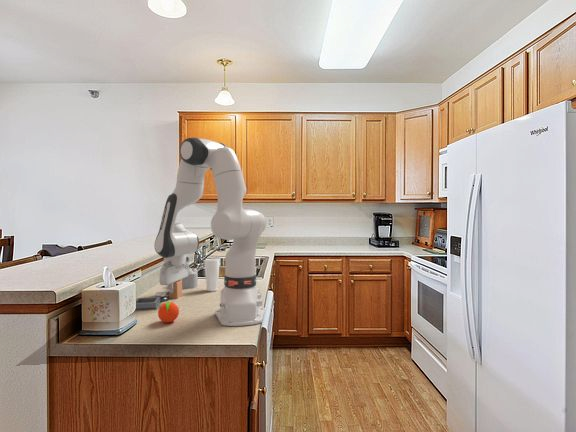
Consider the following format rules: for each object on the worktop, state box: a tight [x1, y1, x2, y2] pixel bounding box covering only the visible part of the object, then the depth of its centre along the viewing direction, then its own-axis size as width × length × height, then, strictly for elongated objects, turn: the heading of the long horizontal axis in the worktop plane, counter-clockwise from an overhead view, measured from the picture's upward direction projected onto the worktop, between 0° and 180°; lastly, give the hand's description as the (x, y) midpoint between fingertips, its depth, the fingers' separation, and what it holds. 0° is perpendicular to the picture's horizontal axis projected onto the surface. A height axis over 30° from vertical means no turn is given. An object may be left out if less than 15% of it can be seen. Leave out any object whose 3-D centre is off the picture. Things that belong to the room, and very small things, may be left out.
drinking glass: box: [204, 257, 220, 292], centre depth 166 cm, size 7×7×15 cm
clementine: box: [157, 301, 180, 324], centre depth 120 cm, size 8×7×7 cm
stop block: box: [168, 281, 183, 300], centre depth 154 cm, size 4×4×7 cm
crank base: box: [160, 295, 169, 303], centre depth 149 cm, size 6×6×1 cm
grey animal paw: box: [182, 267, 199, 290], centre depth 177 cm, size 10×13×9 cm
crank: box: [155, 288, 169, 298], centre depth 153 cm, size 13×4×4 cm, turn 164°
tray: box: [135, 296, 161, 311], centre depth 139 cm, size 9×9×2 cm
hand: (174, 291), depth 154 cm, fingers open, 4 cm apart
